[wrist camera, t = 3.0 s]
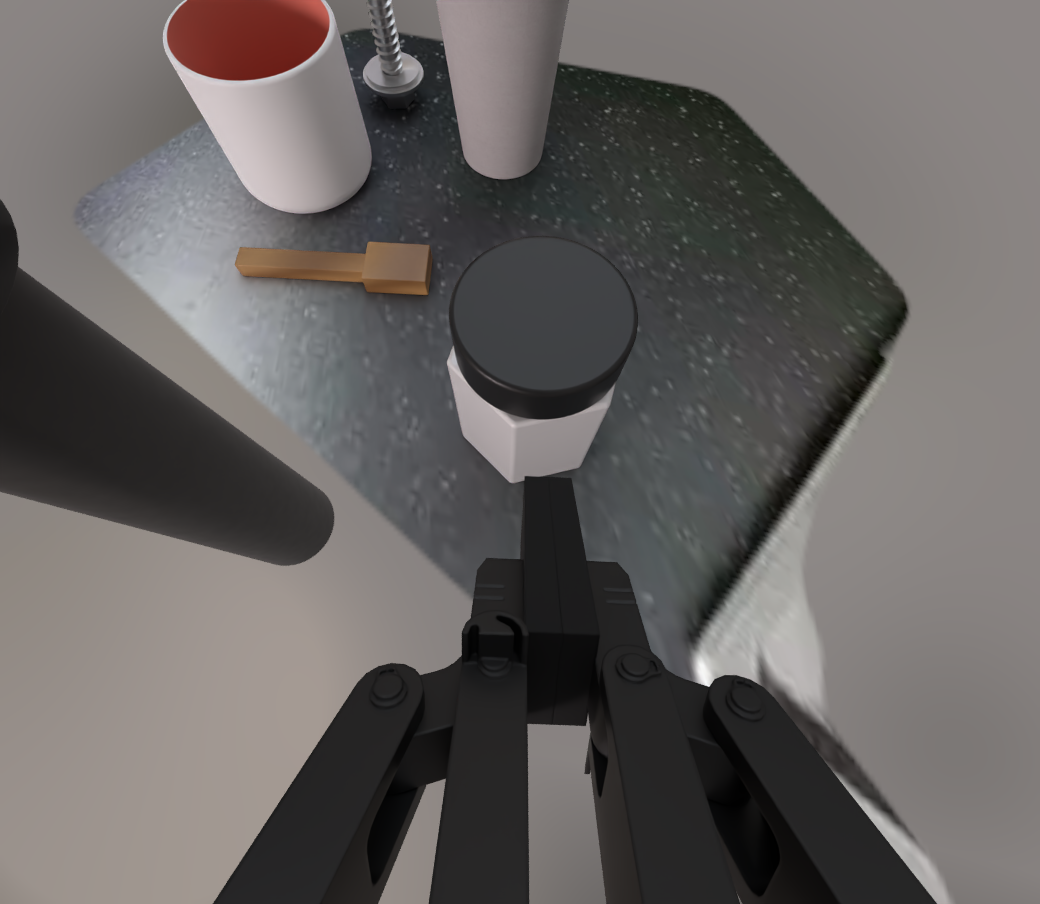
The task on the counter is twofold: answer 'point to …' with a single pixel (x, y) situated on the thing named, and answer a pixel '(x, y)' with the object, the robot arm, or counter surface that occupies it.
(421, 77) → the screw
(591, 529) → the counter surface
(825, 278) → the counter surface
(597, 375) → the jar
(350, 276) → the brown wooden bar
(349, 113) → the cup
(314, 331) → the counter surface
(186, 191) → the counter surface
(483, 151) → the coffee cup
